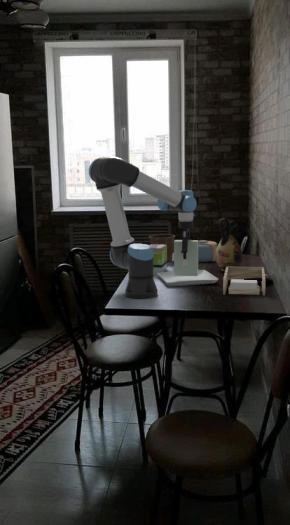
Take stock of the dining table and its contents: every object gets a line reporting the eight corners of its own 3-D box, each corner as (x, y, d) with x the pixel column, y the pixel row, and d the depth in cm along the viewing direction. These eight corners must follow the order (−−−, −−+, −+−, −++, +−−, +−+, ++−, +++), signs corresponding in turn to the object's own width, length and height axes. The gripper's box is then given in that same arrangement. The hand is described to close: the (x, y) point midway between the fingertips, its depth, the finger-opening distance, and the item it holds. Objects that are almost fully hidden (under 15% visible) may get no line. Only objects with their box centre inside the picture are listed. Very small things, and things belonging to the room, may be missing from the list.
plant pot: (146, 262, 329) (146, 237, 327) (153, 258, 345) (153, 234, 342) (171, 263, 325) (171, 237, 322) (177, 259, 340) (177, 234, 337)
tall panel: (197, 276, 271) (197, 241, 268) (174, 275, 274) (173, 241, 270) (198, 274, 276) (198, 240, 273) (175, 273, 278) (175, 240, 275)
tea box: (163, 274, 294) (162, 247, 292) (145, 273, 296) (144, 247, 294) (167, 268, 309) (167, 243, 306) (150, 268, 311) (150, 243, 308)
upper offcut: (256, 289, 242) (257, 282, 242) (230, 288, 245) (230, 282, 244) (257, 285, 249) (257, 279, 248) (231, 285, 251) (231, 279, 251)
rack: (265, 295, 241) (265, 280, 239) (223, 294, 244) (223, 279, 243) (263, 280, 272) (263, 267, 271) (226, 279, 276) (226, 266, 275)
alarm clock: (220, 261, 329) (220, 242, 327) (188, 262, 329) (188, 243, 327) (217, 256, 348) (217, 238, 346) (186, 257, 348) (186, 239, 346)
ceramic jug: (229, 266, 311) (229, 216, 306) (247, 270, 299) (248, 217, 293) (207, 270, 302) (207, 218, 297) (225, 274, 290) (225, 220, 284)
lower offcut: (259, 295, 243) (259, 289, 242) (228, 294, 245) (228, 288, 245) (259, 292, 249) (259, 285, 249) (229, 291, 252) (229, 285, 252)
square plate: (204, 275, 291) (204, 268, 290) (219, 286, 264) (219, 278, 264) (156, 278, 287) (155, 271, 286) (166, 289, 260) (166, 281, 259)
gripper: (190, 222, 258) (191, 267, 262) (195, 218, 280) (195, 259, 284) (175, 222, 260) (176, 267, 264) (181, 218, 281) (181, 259, 285)
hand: (186, 263), depth 274 cm, fingers open, 9 cm apart
